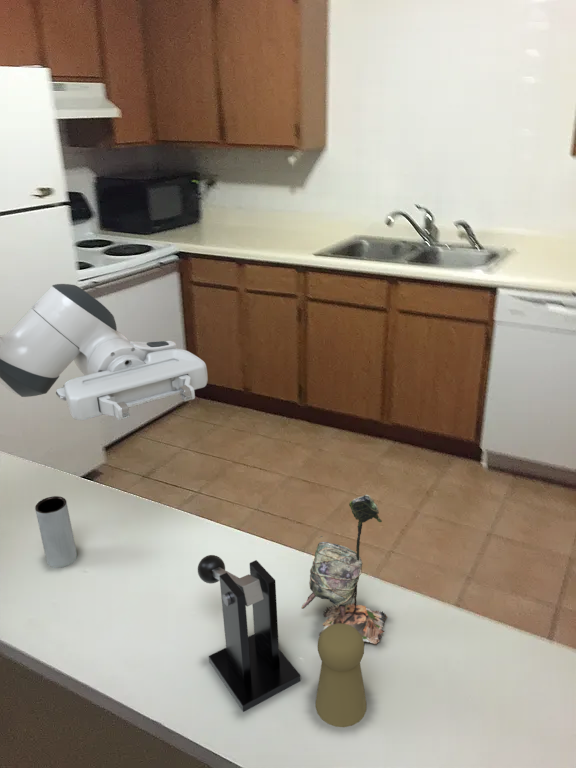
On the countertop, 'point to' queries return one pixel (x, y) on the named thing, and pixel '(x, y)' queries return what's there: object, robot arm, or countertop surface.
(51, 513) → the grey tall hollow cylinder
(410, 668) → the countertop surface
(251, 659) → the black lever stand
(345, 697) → the olive pawn figure
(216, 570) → the lever handle
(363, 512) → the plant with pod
